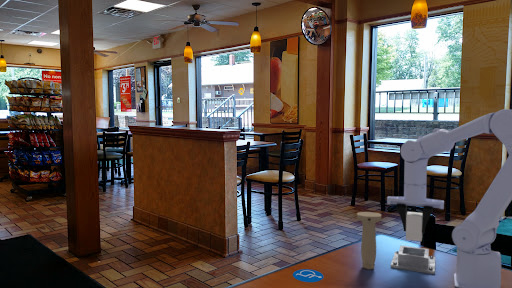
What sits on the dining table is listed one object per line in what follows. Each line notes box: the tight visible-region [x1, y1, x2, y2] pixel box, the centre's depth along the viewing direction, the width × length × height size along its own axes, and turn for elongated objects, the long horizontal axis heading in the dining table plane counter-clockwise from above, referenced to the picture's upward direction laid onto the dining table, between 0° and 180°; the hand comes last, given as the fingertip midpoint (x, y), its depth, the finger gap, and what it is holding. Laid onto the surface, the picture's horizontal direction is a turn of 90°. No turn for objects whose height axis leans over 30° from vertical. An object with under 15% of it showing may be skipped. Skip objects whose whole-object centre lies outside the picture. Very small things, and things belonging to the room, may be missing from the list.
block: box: [405, 211, 423, 242], centre depth 107 cm, size 4×4×7 cm
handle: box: [356, 211, 382, 270], centre depth 105 cm, size 5×6×15 cm
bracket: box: [390, 245, 436, 275], centre depth 108 cm, size 11×11×4 cm
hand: (414, 231), depth 107 cm, fingers closed on block, 4 cm apart
